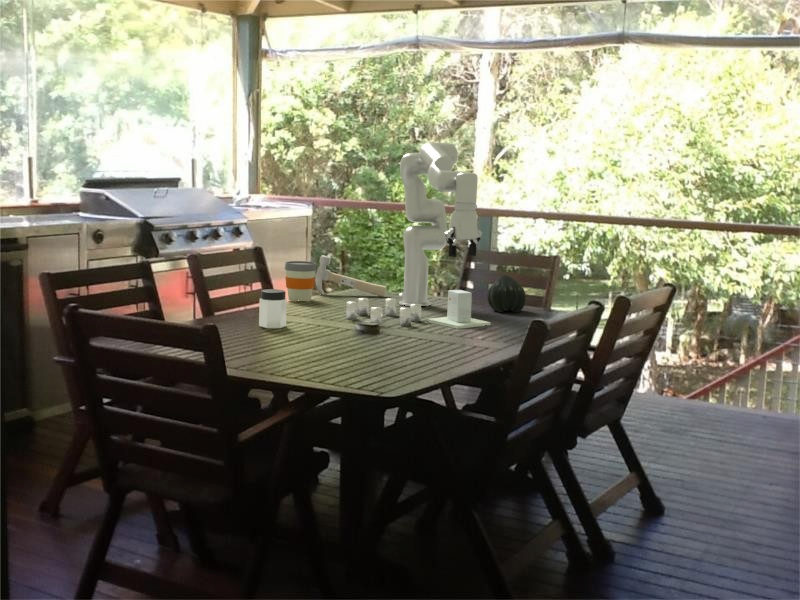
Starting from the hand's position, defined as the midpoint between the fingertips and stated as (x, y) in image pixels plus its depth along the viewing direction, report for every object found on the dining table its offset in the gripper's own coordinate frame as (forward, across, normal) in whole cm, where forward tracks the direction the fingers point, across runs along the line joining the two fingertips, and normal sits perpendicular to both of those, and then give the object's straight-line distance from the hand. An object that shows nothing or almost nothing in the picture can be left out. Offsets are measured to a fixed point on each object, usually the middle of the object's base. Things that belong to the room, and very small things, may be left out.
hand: (462, 255), depth 322 cm
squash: (+24, -35, -10) cm, 44 cm away
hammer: (+25, -3, -70) cm, 74 cm away
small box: (+23, +2, +2) cm, 23 cm away
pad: (+24, +2, +2) cm, 24 cm away
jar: (+24, +64, -22) cm, 72 cm away
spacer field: (+24, +22, -16) cm, 36 cm away
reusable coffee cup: (+25, +24, -68) cm, 76 cm away
